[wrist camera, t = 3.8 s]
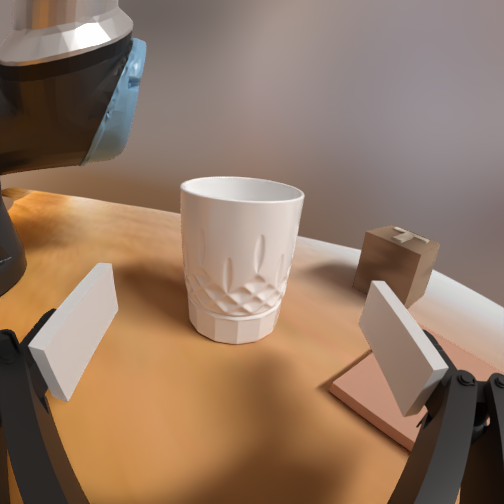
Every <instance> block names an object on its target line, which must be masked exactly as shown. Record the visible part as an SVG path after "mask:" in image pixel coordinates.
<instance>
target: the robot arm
mask: <svg viewBox="0 0 504 504" xmlns="http://www.w3.org/2000/svg"><path fill="white" fill-rule="evenodd" d="M12 5H13V6H12V29H11V31H10V33H9V34H8V35H7V37H6V38H5V40H4V41H3V42H2V44H1V45H0V175H6V174H11V173H17V172H24V171H31V170H39V169H47V168H56V167H66V166H77V165H79V166H84V165H86V164H87V163H93V162H100V161H107V160H111V159H114V158H115V157H117V156H119V155H120V154H121V153H122V151H123V150H124V148H125V146H126V144H127V141H128V137H129V134H130V130H131V126H132V121H133V117H134V112H135V108H136V103H137V97H138V92H139V88H138V86H139V85H140V80H141V76H142V72H143V68H144V62H145V56H146V43H145V42H144V41H142V40H139V39H137V38H132V39H131V34H132V28H133V22H132V20H131V19H130V18H129V17H128V16H127V15H126V14H125V13H124V12H123V11H122V10H121V9H120V8H119V7H118V0H13V2H12ZM26 266H27V261H26V257H25V252H24V247H23V244H22V241H21V239H20V237H19V235H18V233H17V231H16V229H15V227H14V225H13V223H12V221H11V218H10V216H9V214H8V212H7V210H6V207H5V205H4V202H3V199H2V193H1V183H0V295H2V294H3V293H5V292H6V291H7V290H9V289H10V288H11V287H12V286H13V285H14V284H15V283H16V282H17V281H18V280H19V279H20V278H21V276H22V275H23V273H24V272H25V269H26ZM118 310H119V309H118V304H117V298H116V291H115V285H114V278H113V271H112V264H110V263H98V264H97V265H96V266H95V267H94V268H93V269H92V270H91V271H90V272H89V273H88V274H87V275H86V277H85V278H84V279H83V280H82V281H81V282H80V283H79V284H78V285H77V287H76V288H75V289H74V290H73V291H72V292H71V293H70V295H69V296H68V297H67V298H66V299H65V300H64V302H63V303H62V304H61V305H60V306H59V307H58V309H54V308H53V309H51V310H50V311H48V312H47V313H45V314H44V315H43V316H42V317H41V318H40V320H39V321H38V323H36V324H35V326H34V328H32V329H31V331H30V332H29V333H28V334H27V335H26V337H25V338H24V339H23V341H22V342H21V343H20V344H19V342H18V339H17V337H16V335H15V332H13V331H12V330H8V329H4V330H0V504H11V503H10V495H9V484H8V468H7V449H8V453H9V457H10V461H11V465H12V468H13V472H14V475H15V479H16V482H17V485H18V488H19V491H20V494H21V497H22V500H23V502H24V504H90V503H89V502H88V500H87V498H86V496H85V494H84V492H83V490H82V488H81V486H80V484H79V482H78V480H77V478H76V476H75V473H74V471H73V469H72V467H71V464H70V462H69V460H68V457H67V455H66V453H65V450H64V448H63V445H62V442H61V440H60V437H59V434H58V431H57V429H56V426H55V423H54V420H53V417H52V413H51V410H50V407H49V404H48V400H47V398H46V396H45V392H46V391H47V389H49V390H50V392H51V394H52V396H53V397H54V398H57V399H60V400H63V401H66V402H69V400H70V398H71V396H72V394H73V392H74V390H75V388H76V386H77V384H78V382H79V380H80V378H81V376H82V374H83V372H84V370H85V368H86V366H87V364H88V363H89V361H90V359H91V357H92V355H93V353H94V352H95V350H96V348H97V346H98V344H99V343H100V341H101V339H102V337H103V335H104V334H105V332H106V330H107V328H108V327H109V325H110V323H111V322H112V320H113V318H114V316H115V315H116V313H117V311H118ZM359 326H360V328H361V330H362V332H363V334H364V336H365V338H366V340H367V342H368V344H369V346H370V348H371V350H372V352H373V354H374V356H375V358H376V360H377V362H378V364H379V366H380V368H381V370H382V372H383V374H384V376H385V378H386V381H387V383H388V385H389V387H390V389H391V391H392V393H393V395H394V398H395V400H396V402H397V404H398V406H399V409H400V411H401V413H402V415H403V417H408V416H412V415H417V414H418V413H419V412H420V411H421V409H422V408H423V406H424V405H425V407H426V408H427V410H428V411H427V412H426V414H425V415H424V416H423V418H422V419H421V420H420V422H419V423H418V424H417V426H416V427H417V428H418V427H419V426H420V425H421V427H420V429H419V432H418V435H417V438H416V441H415V443H414V446H413V448H412V451H411V453H410V456H409V458H408V461H407V463H406V465H405V468H404V470H403V472H402V474H401V477H400V479H399V481H398V483H397V485H396V487H395V489H394V491H393V493H392V495H391V497H390V499H389V501H388V503H387V504H455V502H456V499H457V495H458V492H459V489H460V485H461V489H460V502H459V504H504V375H503V374H501V373H493V374H491V376H490V377H489V379H488V380H487V381H477V380H476V378H475V377H474V376H473V375H472V374H471V373H470V372H468V371H466V370H462V369H461V370H457V368H456V367H455V365H454V364H453V362H452V361H451V360H450V358H449V357H448V355H447V354H446V352H445V351H443V348H442V347H441V346H440V345H439V343H438V342H437V340H436V339H435V337H434V336H433V335H432V334H430V333H429V332H428V331H426V330H422V329H421V328H420V326H419V325H418V324H417V322H416V321H415V320H414V318H413V317H412V316H411V314H410V313H409V312H408V310H407V309H406V308H405V307H404V305H403V304H402V303H401V301H400V300H399V299H398V298H397V296H396V295H395V294H394V293H393V291H392V290H391V289H390V288H389V286H388V285H387V284H386V283H385V281H372V282H371V285H370V289H369V292H368V295H367V299H366V302H365V305H364V308H363V311H362V315H361V318H360V321H359ZM489 418H490V423H489V425H487V420H488V419H489Z"/></svg>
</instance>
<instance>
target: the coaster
mask: <svg viewBox="0 0 504 504" xmlns="http://www.w3.org/2000/svg"><path fill="white" fill-rule="evenodd" d="M417 324H418V325H419V326H420V328H421V329H422V330H426V331H428V332H429V333H430V334H432V335H433V336H434V337H435V339H436V340H437V342H438V343H439V345H440V346H441V347H442V348H443V351H445V352H446V354H447V355H448V357H449V358H450V360H451V361H452V362H453V364H454V365H455V367H456V368H457V370H461V369H462V370H466V371H468V372H470V373H471V374H472V375H473V376H474V377H475V378H476V380H477V381H487V380H488V379H489V377H490V376H491V374H493V373H501V374H503V375H504V373H503V372H501V371H500V370H498V369H496V368H495V367H493V366H491V365H490V364H488V363H486V362H485V361H483V360H481V359H479V358H478V357H476V356H474V355H473V354H471V353H469V352H468V351H466V350H464V349H462V348H461V347H459V346H457V345H455V344H454V343H452V342H450V341H449V340H447V339H445V338H443V337H442V336H440V335H438V334H436V333H435V332H433V331H431V330H429V329H428V328H426V327H424V326H422V325H421V324H419V323H417ZM329 391H330V392H331V393H332V394H334V395H335V396H336V397H337V398H339V399H340V400H341V401H343V402H344V403H345V404H346V405H348V406H349V407H350V408H352V409H353V410H354V411H356V412H357V413H358V414H360V415H361V416H362V417H364V418H365V419H366V420H368V421H369V422H370V423H372V424H373V425H374V426H376V427H377V428H378V429H380V430H381V431H383V432H384V433H385V434H387V435H388V436H389V437H391V438H392V439H394V440H395V441H396V442H398V443H399V444H401V445H402V446H404V447H405V448H406V449H408V450H409V451H412V448H413V446H414V443H415V441H416V438H417V435H418V432H419V429H420V427H421V425H420V426H419V427H418V428H417V427H416V426H417V424H418V423H419V422H420V420H421V419H422V418H423V416H424V415H425V414H426V412H427V411H428V410H427V408H426V407H425V405H424V406H423V408H422V409H421V411H420V412H419V413H418V414H417V415H412V416H408V417H403V415H402V413H401V411H400V409H399V406H398V404H397V402H396V400H395V398H394V395H393V393H392V391H391V389H390V387H389V385H388V383H387V381H386V378H385V376H384V374H383V372H382V370H381V368H380V366H379V364H378V362H377V360H376V358H375V356H374V354H373V352H372V353H371V354H370V355H368V356H367V357H366V358H365V359H363V360H362V361H361V362H359V363H358V364H357V365H355V366H354V367H353V368H351V369H350V370H349V371H347V372H346V373H345V374H343V375H342V376H341V377H339V378H338V379H336V380H335V381H334V382H332V385H331V387H330V390H329ZM489 423H490V418H489V419H488V420H487V425H489Z"/></svg>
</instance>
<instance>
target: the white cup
mask: <svg viewBox="0 0 504 504" xmlns="http://www.w3.org/2000/svg"><path fill="white" fill-rule="evenodd" d="M303 201H304V193H303V192H302V191H301V190H299V189H297V188H295V187H292V186H289V185H286V184H283V183H279V182H274V181H269V180H263V179H254V178H244V177H205V178H197V179H192V180H188V181H186V182H183V183H182V184H181V185H180V205H181V234H182V253H183V264H184V275H185V284H186V287H187V291H188V306H189V318H190V321H191V323H192V324H193V326H194V327H195V328H196V330H197V331H198V332H199V333H200V334H202V335H204V336H206V337H208V338H210V339H212V340H214V341H216V342H223V343H229V344H243V343H250V342H256V341H258V340H260V339H262V338H263V337H265V336H267V335H268V334H270V333H272V331H273V329H274V327H275V325H276V323H277V320H278V316H279V311H280V306H281V301H282V298H283V297H284V293H285V290H286V285H287V281H288V276H289V272H290V267H291V263H292V259H293V255H294V249H295V244H296V239H297V234H298V228H299V223H300V217H301V212H302V206H303Z"/></svg>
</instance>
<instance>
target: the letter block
mask: <svg viewBox="0 0 504 504" xmlns="http://www.w3.org/2000/svg"><path fill="white" fill-rule="evenodd" d="M439 246H440V244H439V243H437V242H434V241H432V240H430V239H427V238H425V237H422V236H420V235H418V234H415V233H412V232H410V231H408V230H405V229H403V228H400V227H398V226H395V225H390V226H386V227H382V228H377V229H374V230H370V231H366V233H365V238H364V243H363V247H362V251H361V255H360V260H359V264H358V268H357V272H356V276H355V280H354V284H353V287H354V288H356V289H358V290H360V291H362V292H363V293H365V294H367V295H368V292H369V289H370V285H371V282H372V281H385V283H386V284H387V285H388V286H389V288H390V289H391V290H392V291H393V293H394V294H395V295H396V296H397V298H398V299H399V300H400V301H401V303H402V304H403V305H404V307H405V308H406V309H408V308H409V307H410V306H411V305H412V304H414V303H415V302H416V301H417V300H418V299H419V298H421V297H422V296H423V295H424V293H425V290H426V287H427V284H428V281H429V278H430V275H431V272H432V269H433V266H434V263H435V259H436V256H437V253H438V249H439Z"/></svg>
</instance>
